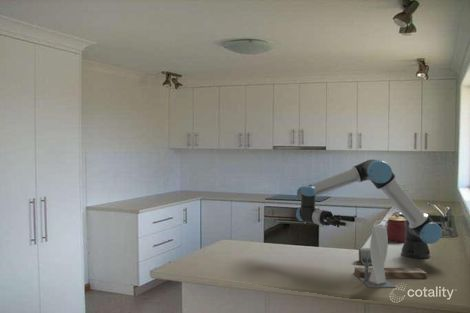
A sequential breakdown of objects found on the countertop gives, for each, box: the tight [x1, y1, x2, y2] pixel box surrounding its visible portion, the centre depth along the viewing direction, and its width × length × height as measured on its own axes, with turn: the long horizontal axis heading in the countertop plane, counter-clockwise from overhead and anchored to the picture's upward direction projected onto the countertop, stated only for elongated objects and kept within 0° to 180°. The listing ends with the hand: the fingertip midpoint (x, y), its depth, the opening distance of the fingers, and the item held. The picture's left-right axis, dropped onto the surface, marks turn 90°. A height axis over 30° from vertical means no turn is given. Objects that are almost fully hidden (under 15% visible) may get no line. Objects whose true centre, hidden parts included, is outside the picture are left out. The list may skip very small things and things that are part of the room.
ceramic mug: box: [358, 247, 372, 266], centre depth 238 cm, size 11×8×8 cm
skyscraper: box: [363, 219, 389, 285], centre depth 204 cm, size 8×8×28 cm
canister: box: [386, 213, 406, 243], centre depth 296 cm, size 13×13×18 cm
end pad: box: [358, 277, 396, 288], centre depth 204 cm, size 12×12×1 cm
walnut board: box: [354, 267, 428, 279], centre depth 217 cm, size 32×8×3 cm, turn 94°
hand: (359, 223), depth 221 cm, fingers open, 13 cm apart
